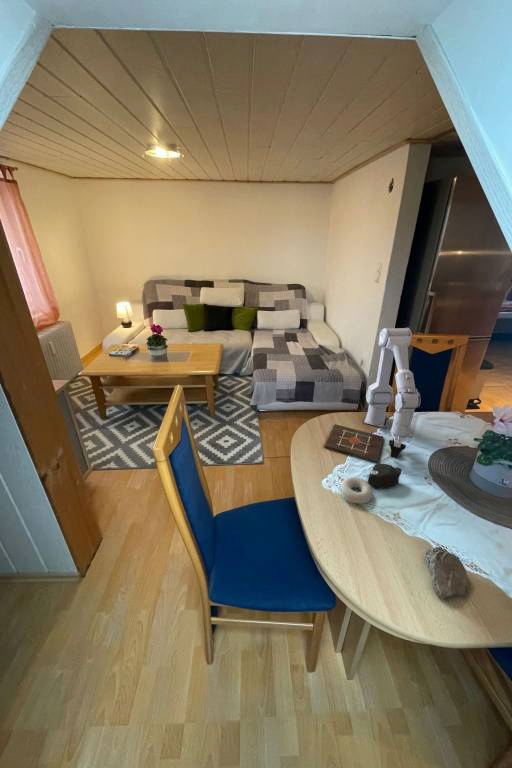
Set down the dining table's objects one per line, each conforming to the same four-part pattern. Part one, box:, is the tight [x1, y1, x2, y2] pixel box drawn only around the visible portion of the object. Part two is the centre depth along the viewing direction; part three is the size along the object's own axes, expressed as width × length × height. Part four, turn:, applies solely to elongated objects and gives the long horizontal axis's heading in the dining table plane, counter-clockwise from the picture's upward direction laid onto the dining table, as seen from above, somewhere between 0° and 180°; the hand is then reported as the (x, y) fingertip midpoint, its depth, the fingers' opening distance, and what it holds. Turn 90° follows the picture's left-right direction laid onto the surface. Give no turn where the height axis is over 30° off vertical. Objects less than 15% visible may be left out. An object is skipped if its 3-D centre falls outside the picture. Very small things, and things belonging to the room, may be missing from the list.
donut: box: [340, 476, 373, 505], centre depth 98 cm, size 10×4×10 cm
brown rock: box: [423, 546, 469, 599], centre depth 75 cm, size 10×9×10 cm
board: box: [324, 423, 384, 464], centre depth 121 cm, size 16×20×1 cm
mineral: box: [367, 463, 403, 490], centre depth 101 cm, size 10×9×6 cm
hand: (394, 451), depth 114 cm, fingers open, 7 cm apart
